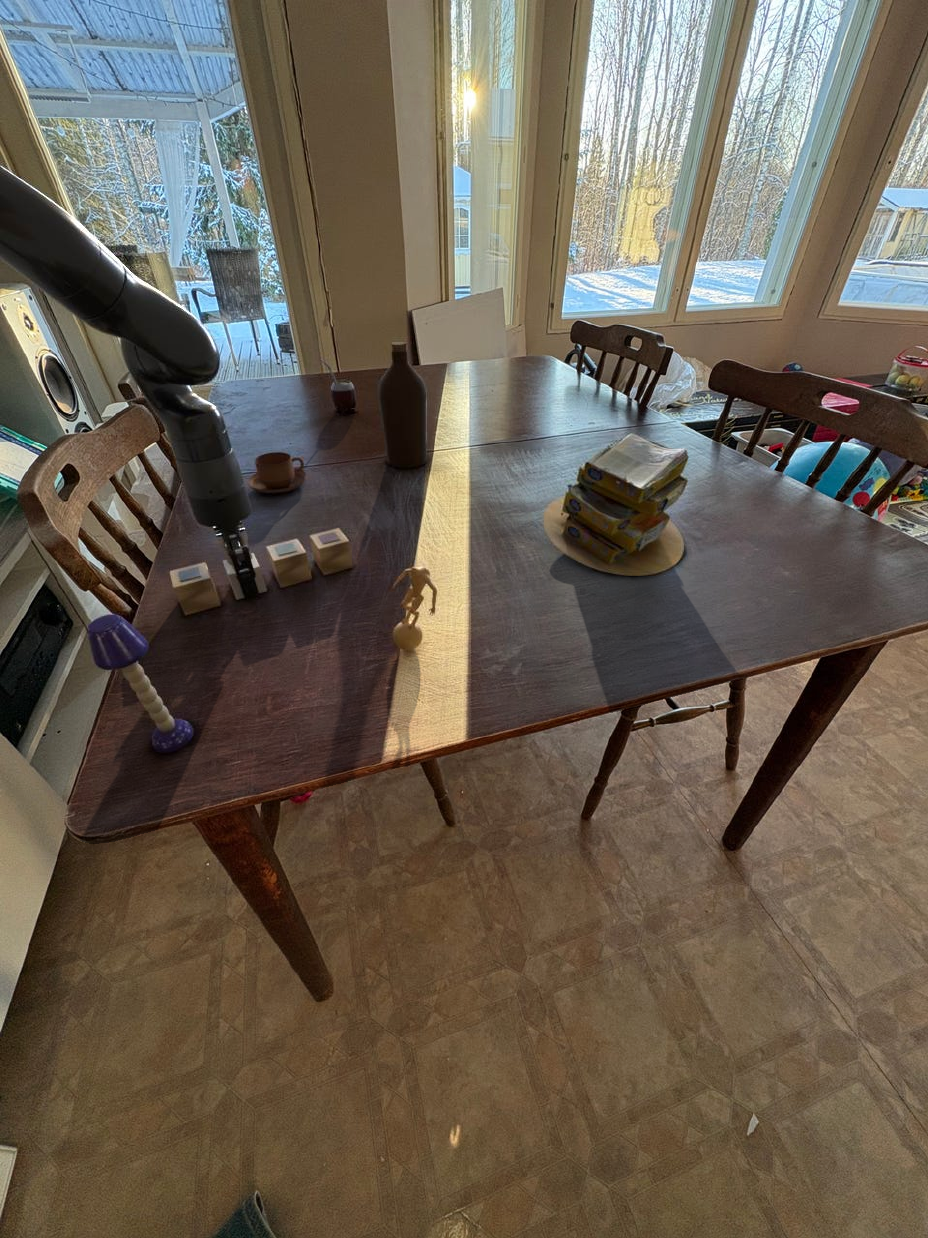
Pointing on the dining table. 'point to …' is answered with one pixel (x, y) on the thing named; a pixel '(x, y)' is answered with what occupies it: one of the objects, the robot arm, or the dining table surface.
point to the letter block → (235, 582)
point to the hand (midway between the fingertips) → (248, 586)
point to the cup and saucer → (277, 473)
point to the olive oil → (403, 411)
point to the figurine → (413, 608)
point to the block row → (286, 565)
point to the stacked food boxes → (622, 509)
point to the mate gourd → (342, 394)
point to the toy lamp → (136, 676)
